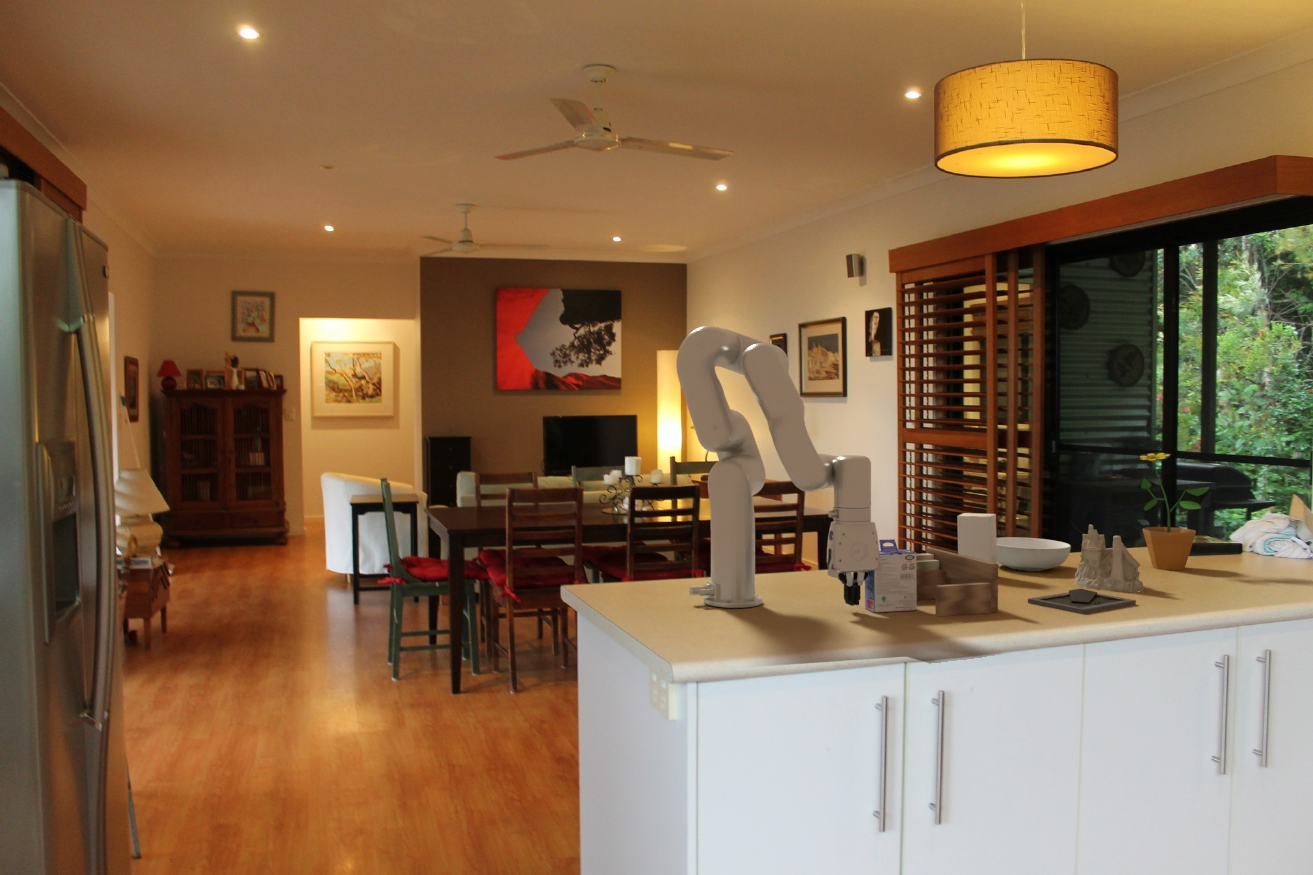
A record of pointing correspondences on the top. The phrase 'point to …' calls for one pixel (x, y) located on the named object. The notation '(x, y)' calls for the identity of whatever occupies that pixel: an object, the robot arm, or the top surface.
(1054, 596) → the picture frame
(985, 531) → the skincare box
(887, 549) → the ink cartridge box
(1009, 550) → the serving bowl
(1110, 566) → the ceramic cottage
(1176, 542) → the potted plant
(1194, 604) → the top surface
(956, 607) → the book rack
